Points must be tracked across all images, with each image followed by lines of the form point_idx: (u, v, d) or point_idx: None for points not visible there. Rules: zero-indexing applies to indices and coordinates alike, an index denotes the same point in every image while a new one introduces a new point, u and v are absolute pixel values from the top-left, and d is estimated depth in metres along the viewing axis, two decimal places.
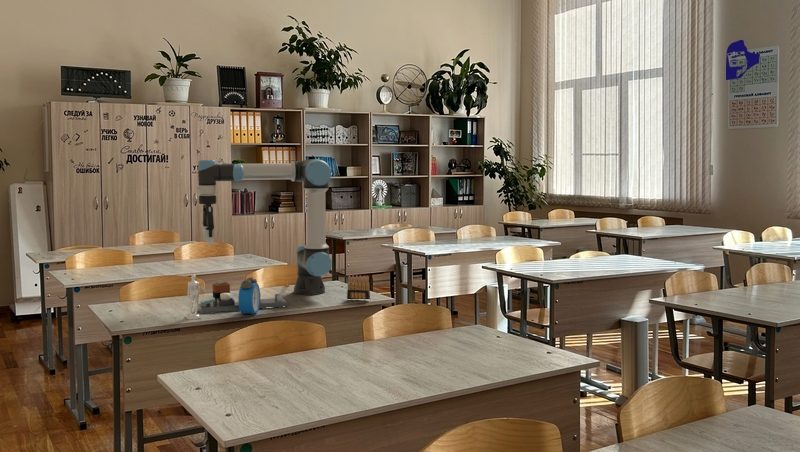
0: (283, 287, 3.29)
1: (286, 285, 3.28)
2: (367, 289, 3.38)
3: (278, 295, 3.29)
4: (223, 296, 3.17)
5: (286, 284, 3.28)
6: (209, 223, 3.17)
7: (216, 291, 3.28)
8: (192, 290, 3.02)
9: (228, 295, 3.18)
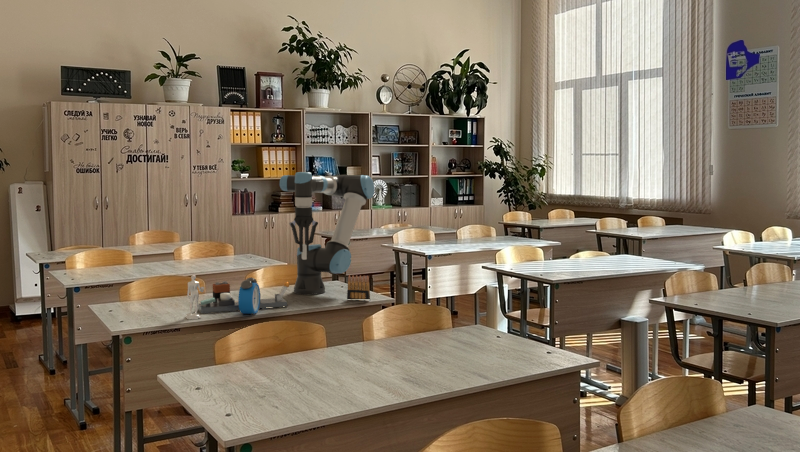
0: (283, 287, 3.29)
1: (286, 285, 3.28)
2: (367, 289, 3.38)
3: (278, 295, 3.29)
4: (223, 296, 3.17)
5: (286, 284, 3.28)
6: (294, 239, 3.29)
7: (216, 291, 3.28)
8: (192, 290, 3.02)
9: (228, 295, 3.18)
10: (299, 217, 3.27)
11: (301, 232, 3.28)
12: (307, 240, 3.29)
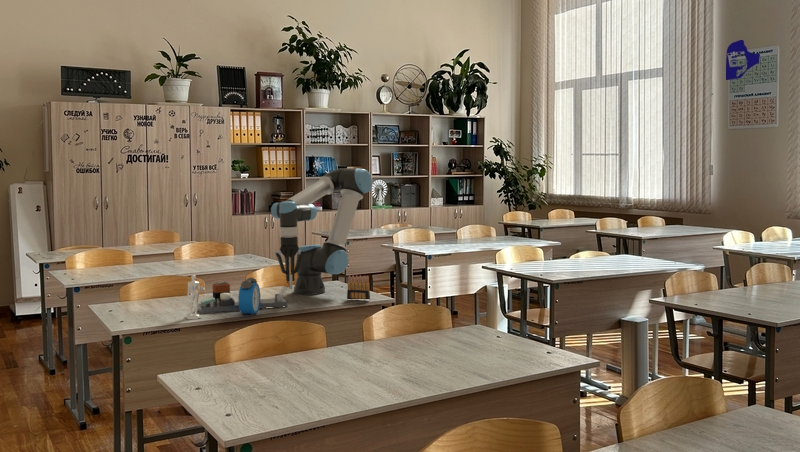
0: (283, 287, 3.29)
1: (286, 285, 3.28)
2: (367, 289, 3.38)
3: (278, 295, 3.29)
4: (223, 296, 3.17)
5: (286, 284, 3.28)
6: (281, 268, 3.28)
7: (216, 291, 3.28)
8: (192, 290, 3.02)
9: (228, 295, 3.18)
10: (284, 247, 3.26)
11: (287, 262, 3.27)
12: (293, 269, 3.28)
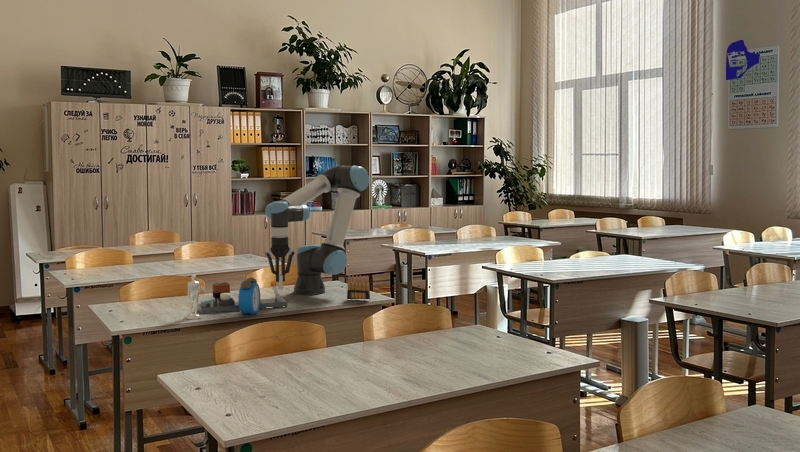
0: (273, 287, 3.27)
1: (273, 285, 3.26)
2: (367, 289, 3.38)
3: (275, 296, 3.29)
4: (223, 296, 3.17)
5: (272, 284, 3.26)
6: None
7: (216, 291, 3.28)
8: (192, 290, 3.02)
9: (228, 295, 3.18)
10: (275, 247, 3.24)
11: (277, 262, 3.25)
12: (283, 270, 3.27)
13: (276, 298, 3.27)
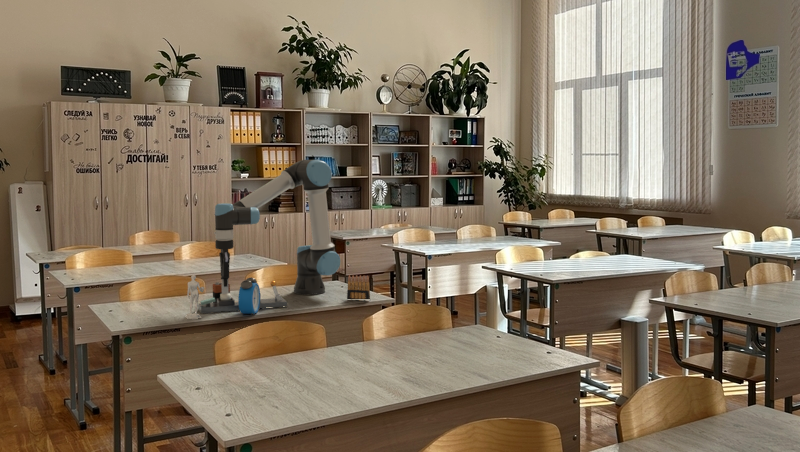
0: (273, 287, 3.27)
1: (273, 285, 3.26)
2: (367, 289, 3.38)
3: (275, 296, 3.29)
4: (223, 296, 3.17)
5: (272, 284, 3.26)
6: (224, 274, 3.14)
7: (216, 291, 3.28)
8: (192, 290, 3.02)
9: (228, 295, 3.18)
10: None
11: None
12: None
13: (276, 298, 3.27)
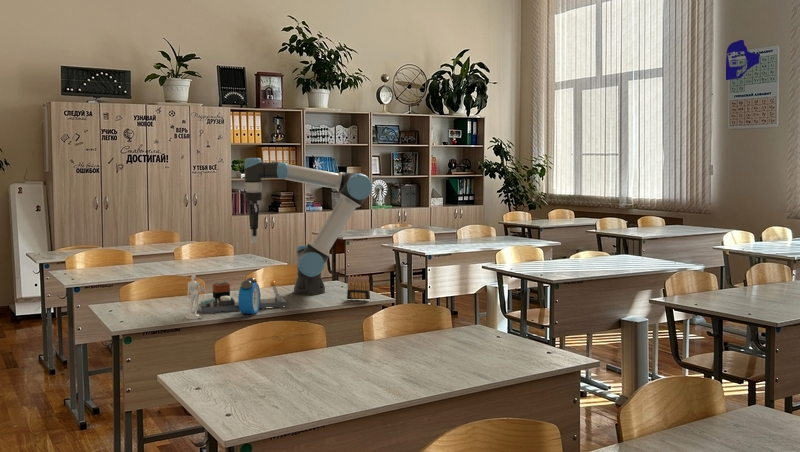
0: (273, 287, 3.27)
1: (273, 285, 3.26)
2: (367, 289, 3.38)
3: (275, 296, 3.29)
4: (223, 299, 3.17)
5: (272, 284, 3.26)
6: (254, 223, 3.35)
7: (216, 291, 3.28)
8: (192, 290, 3.02)
9: (228, 298, 3.18)
10: None
11: None
12: None
13: (276, 298, 3.27)
